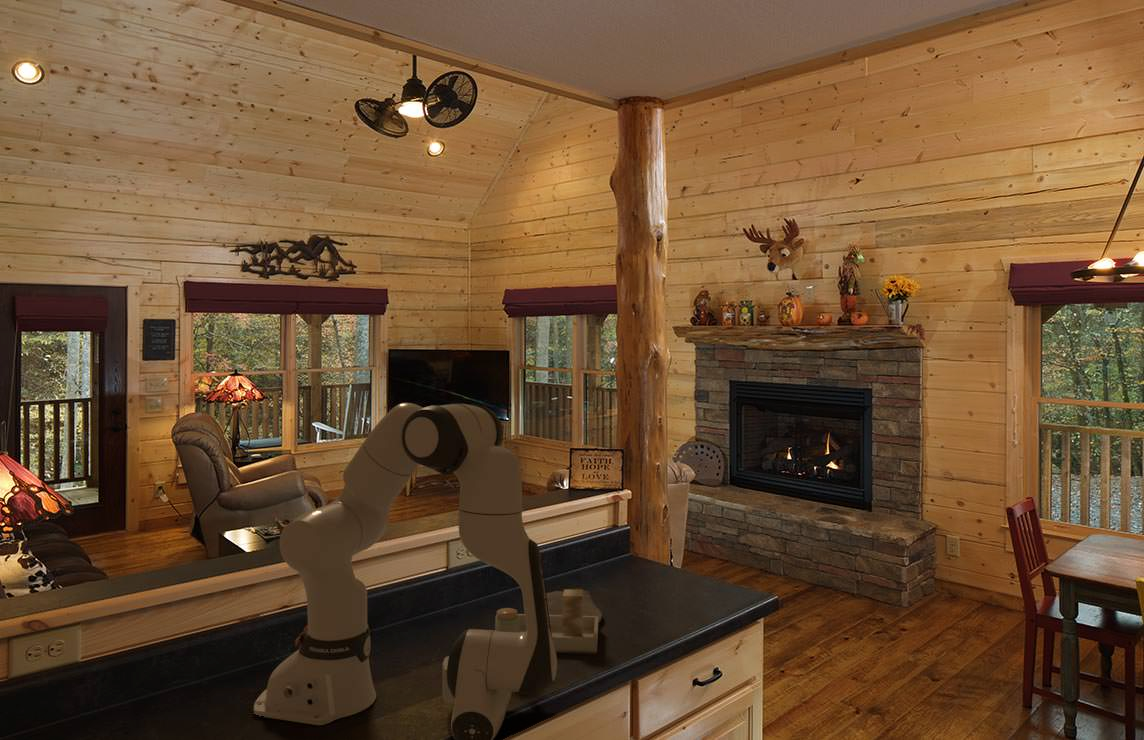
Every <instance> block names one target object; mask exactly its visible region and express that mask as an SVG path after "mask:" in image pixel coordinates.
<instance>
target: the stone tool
mask: <svg viewBox="0 0 1144 740" xmlns="http://www.w3.org/2000/svg"><path fill="white" fill-rule="evenodd" d="M571 590H583V616H598V624H599V623H600V622H601V620H602V617H603V614H602V611H601V609H600V608H599V607H597V605H596V604H595V602H594V601H593V599H592V596H591V594H592V592H590V591H587V590H584V589H582V588H572V589H571ZM563 593H564V590H563V591H561V590H560V591H558V590H555V591H551V592H546V595H547V603H548V611H549V615H563Z"/></svg>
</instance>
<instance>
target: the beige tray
mask: <svg viewBox="0 0 1144 740" xmlns="http://www.w3.org/2000/svg"><path fill="white" fill-rule="evenodd" d="M517 614H518V615H519V633H524V632H526V631H527V628H526V619H525V613H517ZM549 620H550V627H551V634H552V640H553V644H554V647H555V651H556V654H557V653H558V654H587V655H588V654H590V655H591V654H593V655H597V654H598V642H599V641H598V639H599V623H598V616H583V637H572V636H563V615H549Z"/></svg>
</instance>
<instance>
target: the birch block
mask: <svg viewBox="0 0 1144 740" xmlns="http://www.w3.org/2000/svg"><path fill="white" fill-rule="evenodd" d="M583 590H584V589H582V590H572V589H566V588H565V589H563V591H564V593H563V636H572V637H583Z"/></svg>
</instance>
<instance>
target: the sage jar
mask: <svg viewBox="0 0 1144 740" xmlns="http://www.w3.org/2000/svg"><path fill="white" fill-rule="evenodd" d="M518 614H519V613H518V610H517V609H515V608H511V607H504V608H500V609H497V610H496V615H495V622H494V623H495V626H494V627H495V629H494V631H500V632H514V633H519V615H518Z"/></svg>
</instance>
